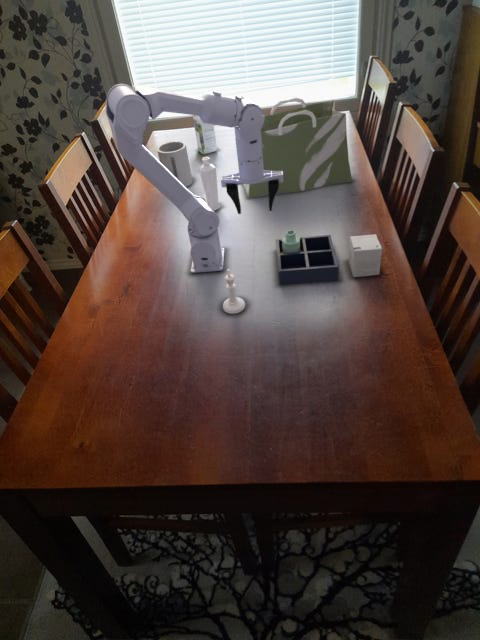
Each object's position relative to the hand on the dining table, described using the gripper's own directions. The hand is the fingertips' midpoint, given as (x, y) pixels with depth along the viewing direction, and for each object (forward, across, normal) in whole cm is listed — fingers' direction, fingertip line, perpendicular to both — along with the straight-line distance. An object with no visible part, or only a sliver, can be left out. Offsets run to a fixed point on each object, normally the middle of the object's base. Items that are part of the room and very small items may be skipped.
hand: (255, 210), depth 112 cm
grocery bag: (+10, -12, -33) cm, 37 cm away
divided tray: (+9, -12, +12) cm, 19 cm away
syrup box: (+10, +19, -65) cm, 68 cm away
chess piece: (+10, +5, +25) cm, 27 cm away
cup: (+10, +26, -40) cm, 49 cm away
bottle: (+9, -8, +8) cm, 15 cm away
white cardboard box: (+10, -24, +14) cm, 30 cm away
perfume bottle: (+10, +13, -21) cm, 27 cm away
